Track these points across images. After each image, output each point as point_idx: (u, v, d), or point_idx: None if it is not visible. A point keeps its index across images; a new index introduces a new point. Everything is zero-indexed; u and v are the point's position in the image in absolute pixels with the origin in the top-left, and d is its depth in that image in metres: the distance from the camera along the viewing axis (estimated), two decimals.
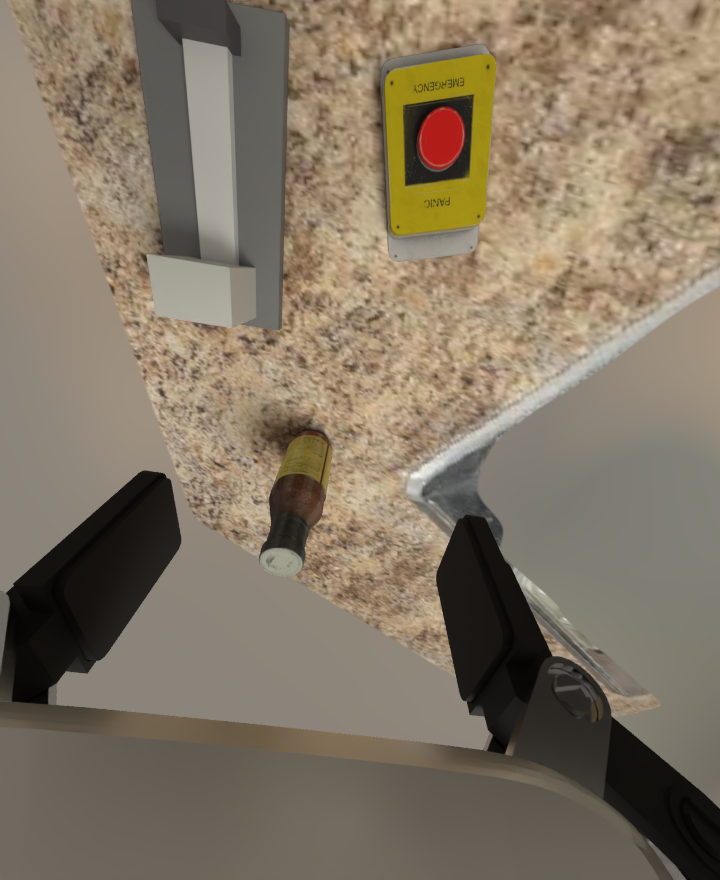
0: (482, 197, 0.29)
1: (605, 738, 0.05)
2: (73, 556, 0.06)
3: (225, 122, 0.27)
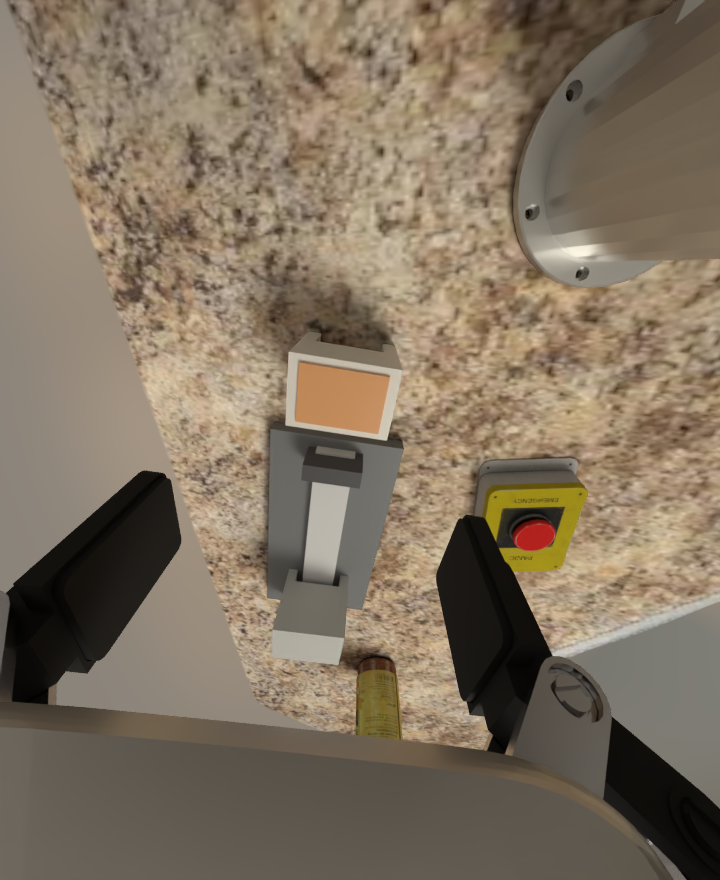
0: (561, 557, 0.32)
1: (605, 738, 0.05)
2: (73, 556, 0.06)
3: (341, 510, 0.30)
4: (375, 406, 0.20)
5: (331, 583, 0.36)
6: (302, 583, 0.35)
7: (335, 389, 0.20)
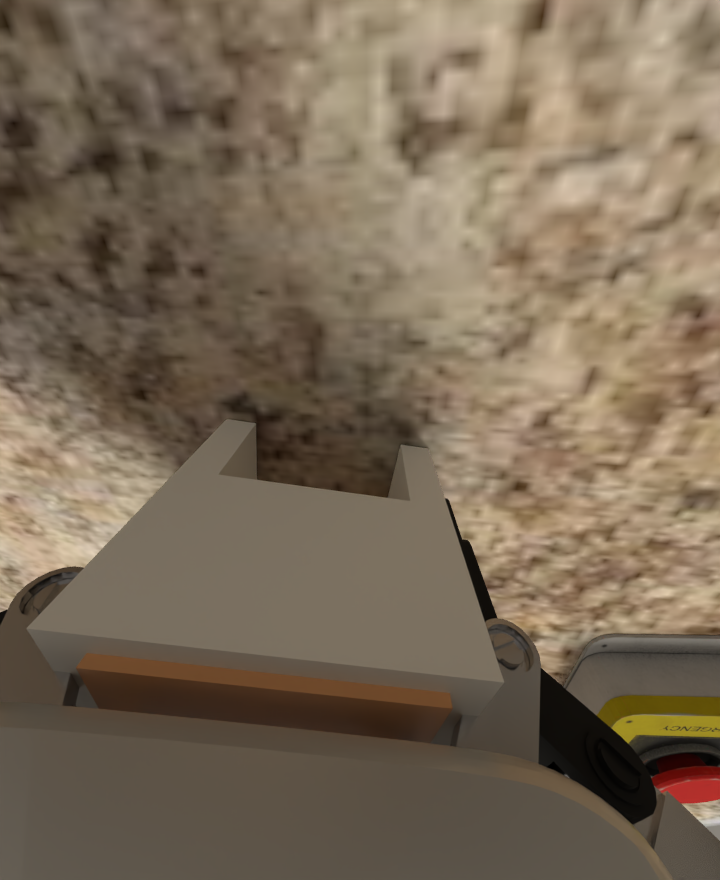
0: None
1: (536, 682, 0.06)
2: None
3: None
4: None
5: None
6: None
7: (240, 722, 0.05)
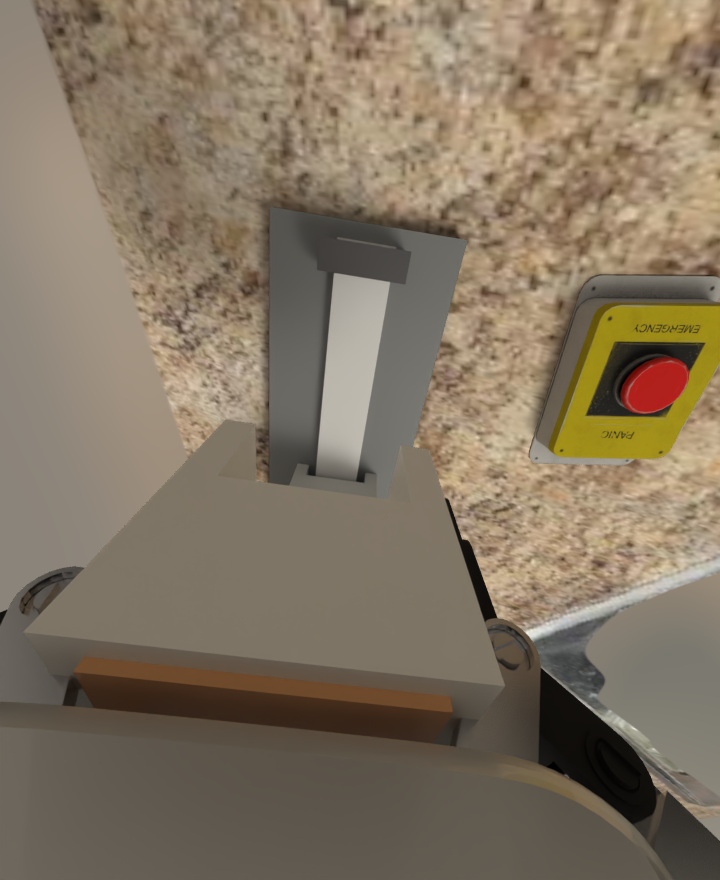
0: (672, 436, 0.23)
1: (536, 682, 0.06)
2: None
3: (372, 352, 0.21)
4: None
5: (354, 480, 0.27)
6: (315, 477, 0.26)
7: None
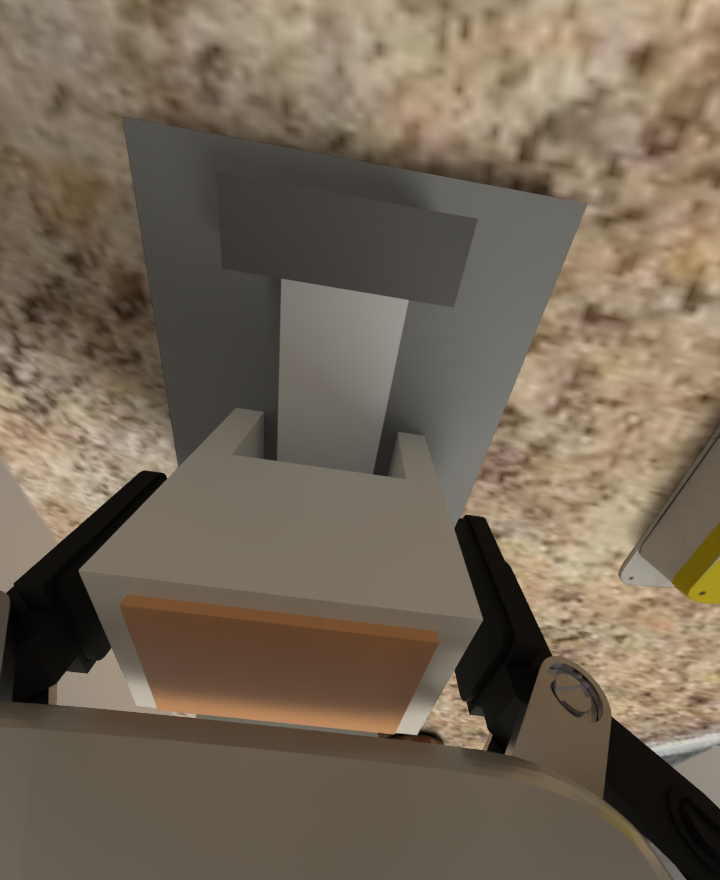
0: None
1: (603, 737, 0.05)
2: (73, 555, 0.06)
3: (369, 435, 0.11)
4: (387, 693, 0.07)
5: None
6: None
7: (257, 660, 0.06)
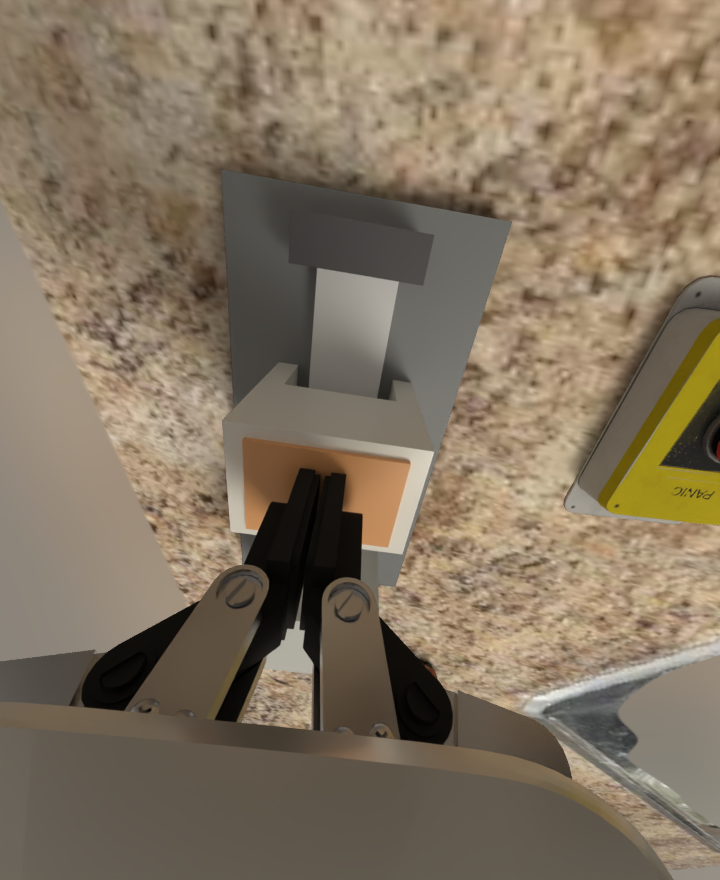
0: None
1: (377, 618, 0.07)
2: (295, 538, 0.08)
3: (372, 379, 0.15)
4: (383, 508, 0.11)
5: None
6: None
7: None
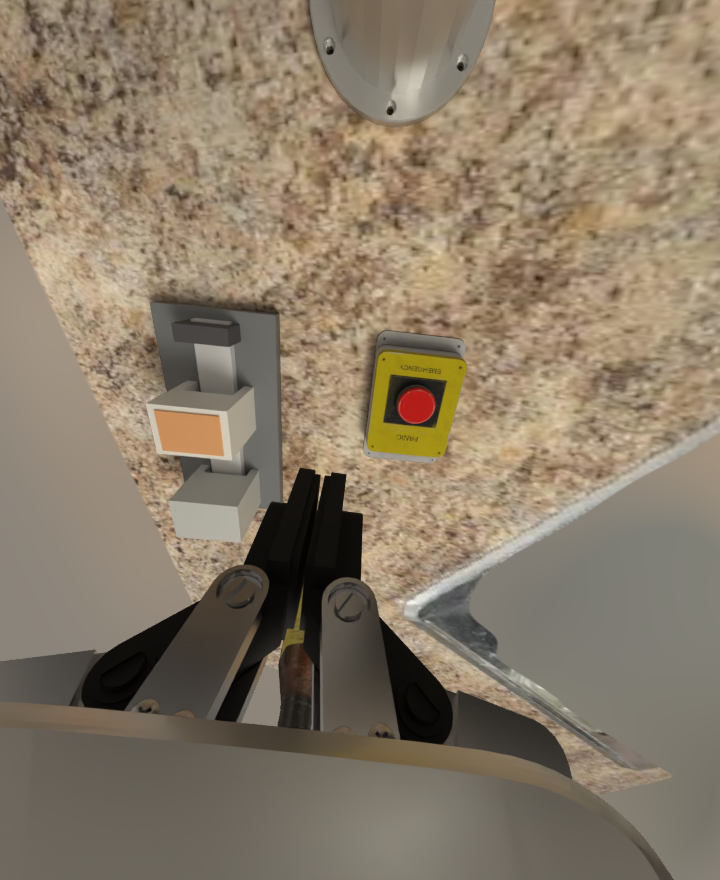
0: (443, 442, 0.34)
1: (376, 617, 0.07)
2: (295, 538, 0.08)
3: (229, 386, 0.32)
4: (215, 437, 0.28)
5: (240, 474, 0.37)
6: (210, 473, 0.37)
7: (183, 426, 0.28)
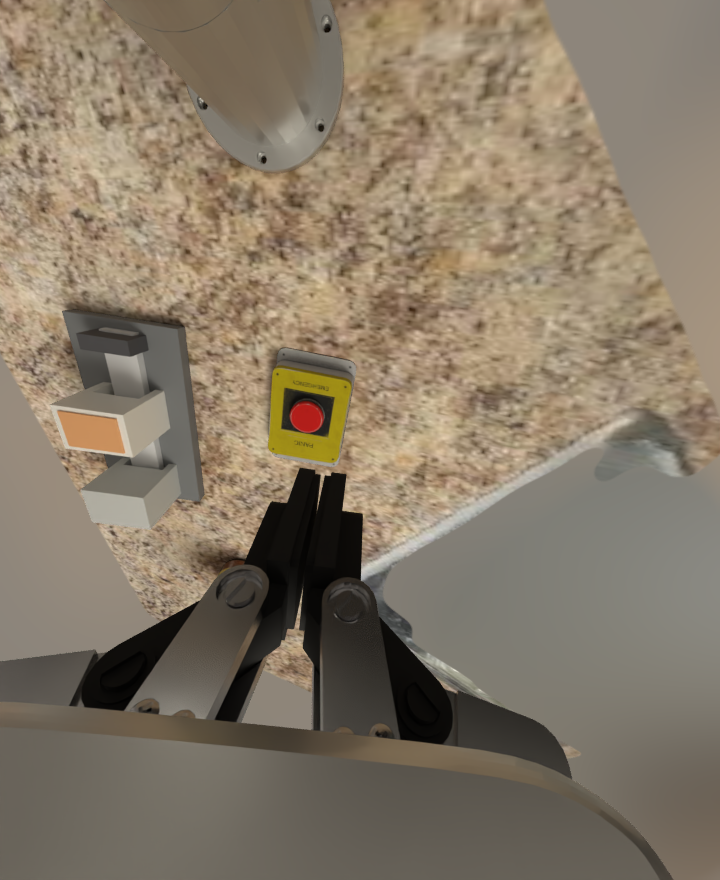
0: (336, 450, 0.39)
1: (377, 618, 0.07)
2: (295, 538, 0.08)
3: (140, 389, 0.36)
4: (114, 436, 0.32)
5: (157, 468, 0.41)
6: (128, 466, 0.40)
7: (84, 426, 0.31)
